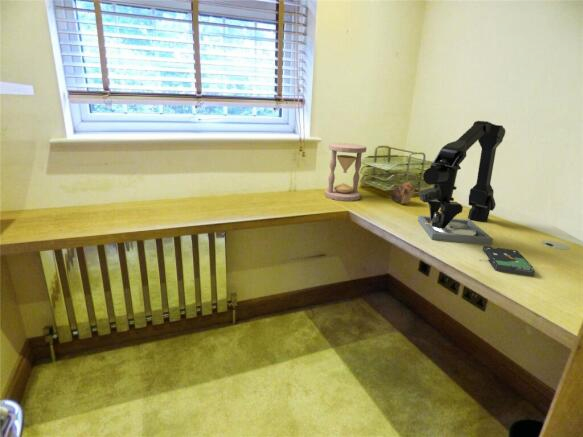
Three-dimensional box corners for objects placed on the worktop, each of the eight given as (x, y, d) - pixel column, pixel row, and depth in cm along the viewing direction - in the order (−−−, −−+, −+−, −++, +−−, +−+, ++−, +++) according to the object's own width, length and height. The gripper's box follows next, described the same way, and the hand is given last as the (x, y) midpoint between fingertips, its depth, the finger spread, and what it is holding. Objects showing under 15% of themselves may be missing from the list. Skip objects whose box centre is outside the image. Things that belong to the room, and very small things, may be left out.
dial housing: (468, 227, 138) (470, 219, 137) (490, 246, 119) (493, 238, 118) (417, 222, 140) (418, 215, 139) (431, 241, 121) (433, 232, 120)
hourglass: (355, 192, 181) (361, 144, 173) (364, 202, 164) (371, 148, 156) (322, 191, 180) (326, 142, 171) (327, 200, 163) (332, 146, 155)
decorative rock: (413, 206, 163) (417, 183, 159) (401, 206, 161) (405, 183, 158) (398, 199, 174) (402, 178, 170) (388, 199, 172) (391, 178, 168)
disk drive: (480, 253, 115) (495, 272, 101) (482, 245, 114) (497, 263, 101) (515, 257, 113) (534, 278, 99) (517, 249, 112) (537, 269, 98)
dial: (462, 225, 137) (466, 209, 135) (484, 241, 122) (488, 222, 119) (422, 223, 137) (425, 206, 134) (438, 239, 121) (442, 220, 119)
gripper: (414, 175, 131) (407, 214, 136) (435, 187, 114) (426, 231, 119) (442, 177, 132) (434, 215, 137) (468, 189, 114) (458, 233, 119)
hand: (437, 223), depth 128 cm, fingers open, 9 cm apart
